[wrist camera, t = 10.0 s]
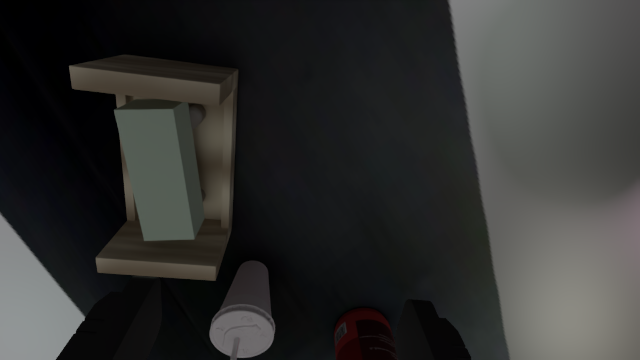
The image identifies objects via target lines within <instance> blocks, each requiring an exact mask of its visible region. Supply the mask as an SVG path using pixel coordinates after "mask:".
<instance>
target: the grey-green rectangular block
mask: <svg viewBox="0 0 640 360" xmlns="http://www.w3.org/2000/svg"><path fill="white" fill-rule="evenodd" d="M114 113H115V117H116V121H117V126H118V130H119V134H120V138H121V143H122V147H123V151H124V156H125V160H126V164H127V169H128V173H129V177H130V182H131V186H132V190H133V194H134V199H135V203H136V207H137V212H138V216H139V220H140V225H141V229H142V233H143V238H144V241H157V240H192V239H195V237H196V235H197V233H198V231H199V229H200V227H201V225H202V223H203V220H204V218H205V215H204V208H203V201H202V195H201V188H200V181H199V174H198V167H197V161H196V154H195V147H194V140H193V133H192V127H191V120H190V113H189V106H188V102H180V101H171V100H163V99H135V100H133V101H131V102H129V103H127V104H125V105H123V106H121V107H119V108H117V109H115V110H114Z"/></svg>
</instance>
